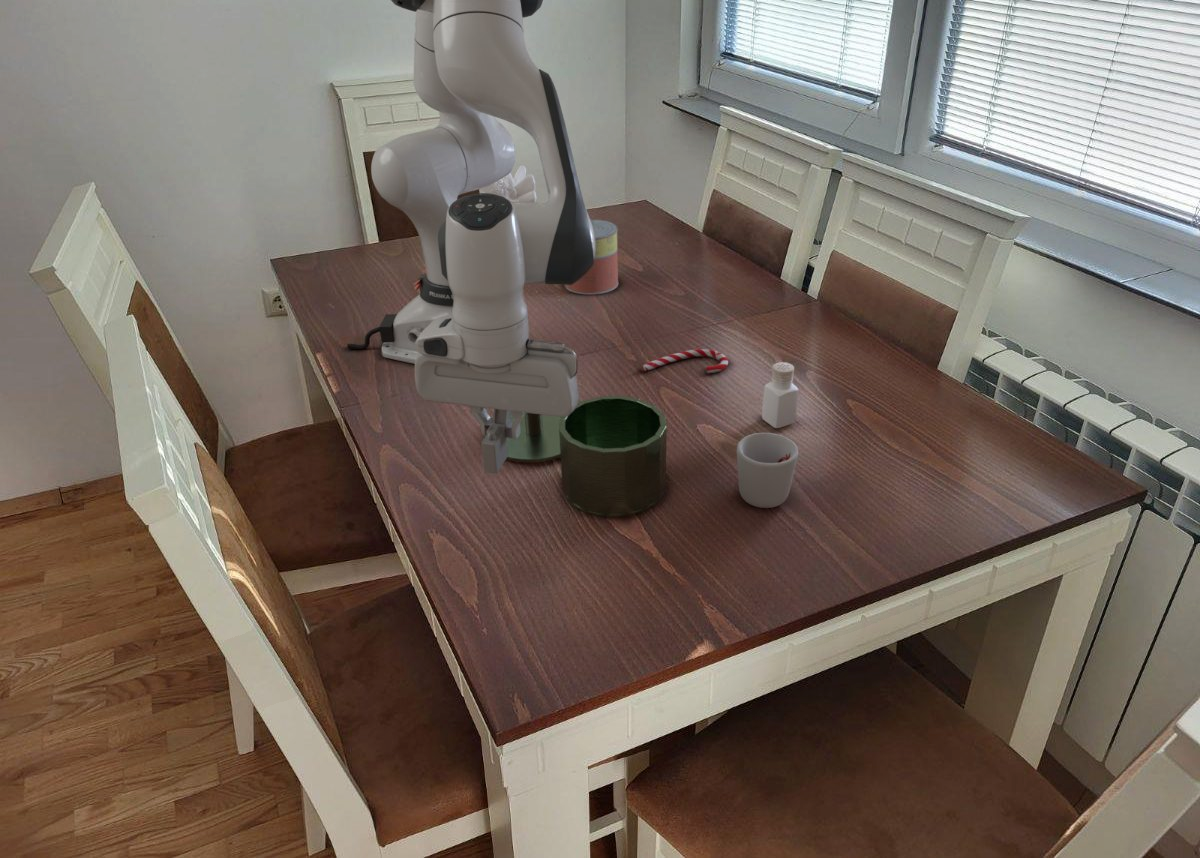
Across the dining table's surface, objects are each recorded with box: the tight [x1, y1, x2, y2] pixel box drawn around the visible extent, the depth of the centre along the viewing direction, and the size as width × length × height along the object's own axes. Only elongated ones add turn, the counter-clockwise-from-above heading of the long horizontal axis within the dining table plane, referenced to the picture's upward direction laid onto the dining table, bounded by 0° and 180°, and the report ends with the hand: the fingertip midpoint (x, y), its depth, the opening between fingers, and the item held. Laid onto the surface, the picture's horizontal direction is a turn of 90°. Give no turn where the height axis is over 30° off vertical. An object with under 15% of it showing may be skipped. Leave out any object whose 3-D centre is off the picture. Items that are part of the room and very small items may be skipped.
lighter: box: [480, 409, 510, 475], centre depth 111 cm, size 7×2×8 cm, turn 165°
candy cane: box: [641, 348, 729, 374], centre depth 153 cm, size 8×1×15 cm
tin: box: [559, 395, 668, 518], centre depth 121 cm, size 14×14×10 cm
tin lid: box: [483, 411, 561, 463], centre depth 133 cm, size 15×15×6 cm
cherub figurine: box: [478, 165, 537, 204], centre depth 197 cm, size 13×12×20 cm
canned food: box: [564, 219, 619, 296], centre depth 182 cm, size 11×11×12 cm
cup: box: [736, 432, 799, 509], centre depth 120 cm, size 11×8×8 cm
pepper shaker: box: [761, 361, 800, 429], centre depth 135 cm, size 4×4×10 cm
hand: (501, 434), depth 112 cm, fingers closed on lighter, 2 cm apart
